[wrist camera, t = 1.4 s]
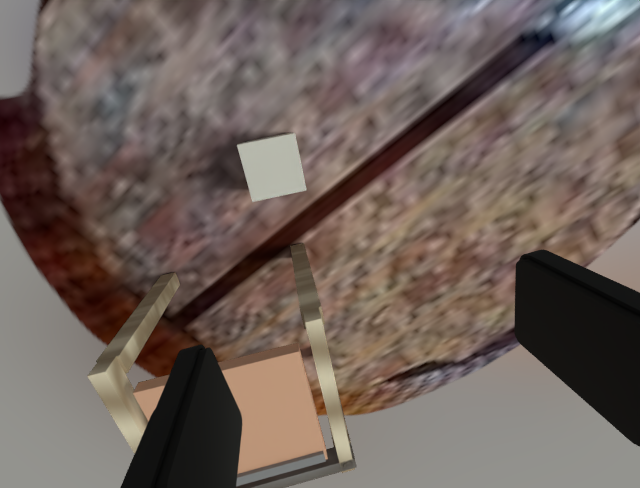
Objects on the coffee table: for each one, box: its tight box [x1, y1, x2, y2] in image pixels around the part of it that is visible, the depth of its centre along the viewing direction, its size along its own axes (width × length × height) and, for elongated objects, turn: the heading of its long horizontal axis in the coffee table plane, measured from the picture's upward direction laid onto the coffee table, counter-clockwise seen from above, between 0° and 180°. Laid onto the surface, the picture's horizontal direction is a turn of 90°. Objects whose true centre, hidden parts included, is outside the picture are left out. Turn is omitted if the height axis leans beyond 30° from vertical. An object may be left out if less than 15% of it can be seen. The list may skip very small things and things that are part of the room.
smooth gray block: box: [237, 133, 306, 202], centre depth 30 cm, size 5×5×6 cm
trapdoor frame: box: [88, 243, 356, 488], centre depth 32 cm, size 17×17×16 cm
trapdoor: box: [133, 343, 328, 486], centre depth 25 cm, size 12×12×1 cm
